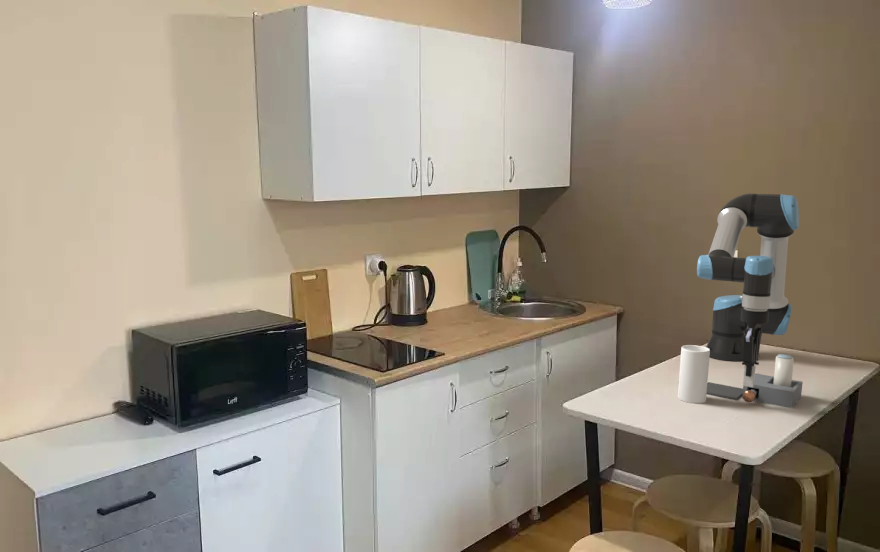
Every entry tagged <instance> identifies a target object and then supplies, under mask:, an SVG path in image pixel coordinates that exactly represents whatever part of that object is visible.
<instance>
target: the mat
mask: <svg viewBox="0 0 880 552" xmlns="http://www.w3.org/2000/svg"><path fill="white" fill-rule="evenodd" d="M706 395H708V396H714V397H718V398H724V399H727V400H732V401H733V400H734V401H737V400H738V399H740V398H741V397H742V396H743V388H742V387H736V386H731V385H726V384H721V383H715V382H708V381H707V394H706Z"/></svg>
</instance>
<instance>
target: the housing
mask: <svg viewBox="0 0 880 552" xmlns="http://www.w3.org/2000/svg"><path fill="white" fill-rule="evenodd" d="M773 382H774V375H768V374H767V375H766V374H762V373H761V374H760V373H756V372H755V380H754V387H748V386H743V385H742V387H743V388H742V389H743V393H744V392H745V391H747V390H751V389H752V388H757V389H759V393H758V394H757V395H756V398H755V400H754V401H753V402H758V403H763V404H768V405H774V406H777V407H783V408H788V409H789V408H790V409H792V408H793V407H795V406H796V404H797V403H798V402H799V400H800V399H801V397H802V394H803V393H802V392H803V383H804V382H803V381H801V380H795V379H792V382H791V387H786V386H781V385H775V384H773ZM741 397H742V396H741ZM742 400H744V399H743V397H742Z"/></svg>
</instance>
